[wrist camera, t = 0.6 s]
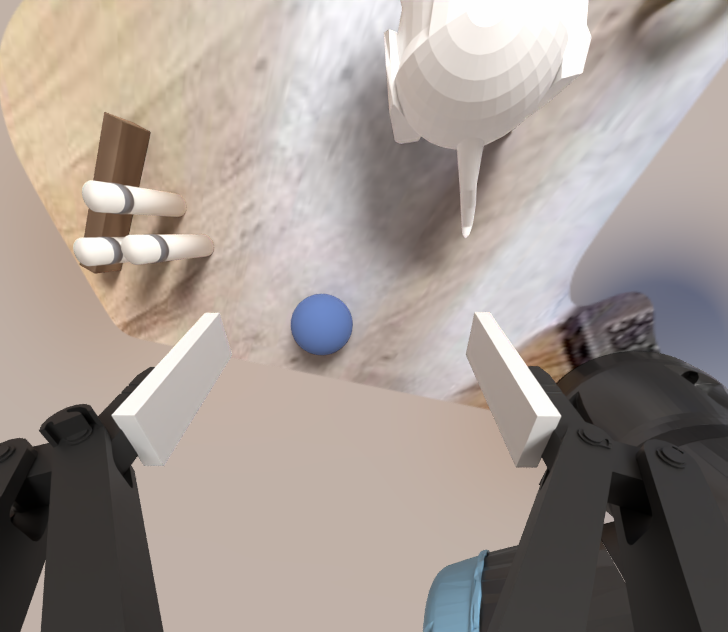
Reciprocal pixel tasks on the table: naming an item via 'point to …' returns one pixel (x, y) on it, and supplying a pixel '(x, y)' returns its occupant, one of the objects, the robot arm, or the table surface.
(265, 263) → the table surface
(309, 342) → the ball
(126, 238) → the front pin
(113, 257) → the pin
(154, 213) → the pin
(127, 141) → the back wall
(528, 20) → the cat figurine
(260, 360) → the table surface
